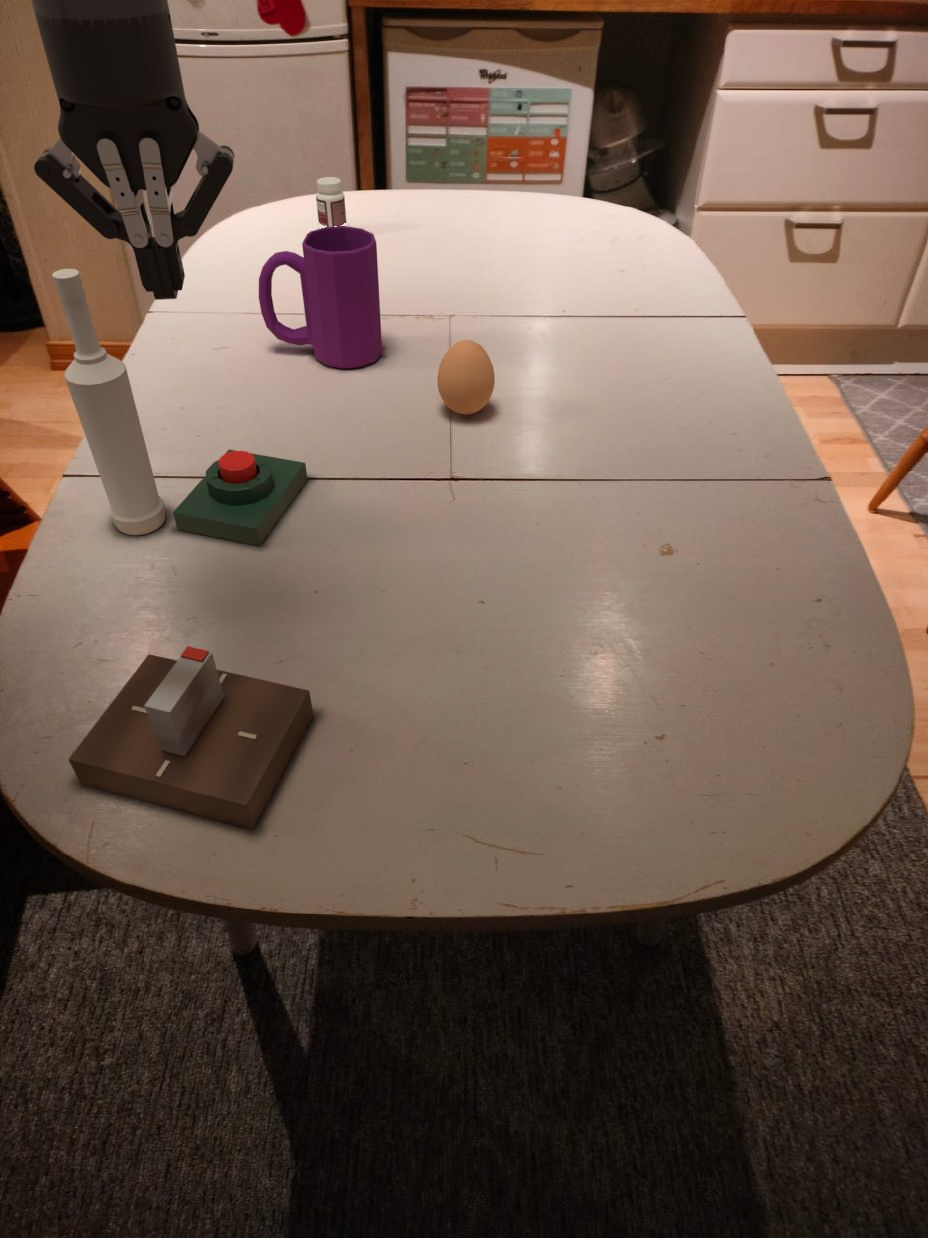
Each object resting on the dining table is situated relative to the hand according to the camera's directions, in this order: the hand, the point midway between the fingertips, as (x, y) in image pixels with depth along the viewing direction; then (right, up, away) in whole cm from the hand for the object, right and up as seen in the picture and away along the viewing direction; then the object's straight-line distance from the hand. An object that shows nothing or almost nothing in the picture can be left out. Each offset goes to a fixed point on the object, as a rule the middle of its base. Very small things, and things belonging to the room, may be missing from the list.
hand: (167, 294), depth 61 cm
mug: (+3, +12, +52) cm, 53 cm away
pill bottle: (-1, +43, +84) cm, 94 cm away
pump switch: (-1, -11, +27) cm, 29 cm away
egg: (+22, +2, +42) cm, 47 cm away
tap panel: (+1, -34, +4) cm, 34 cm away
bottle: (-11, -14, +25) cm, 30 cm away
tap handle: (+1, -31, +2) cm, 31 cm away
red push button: (-1, -9, +25) cm, 26 cm away
